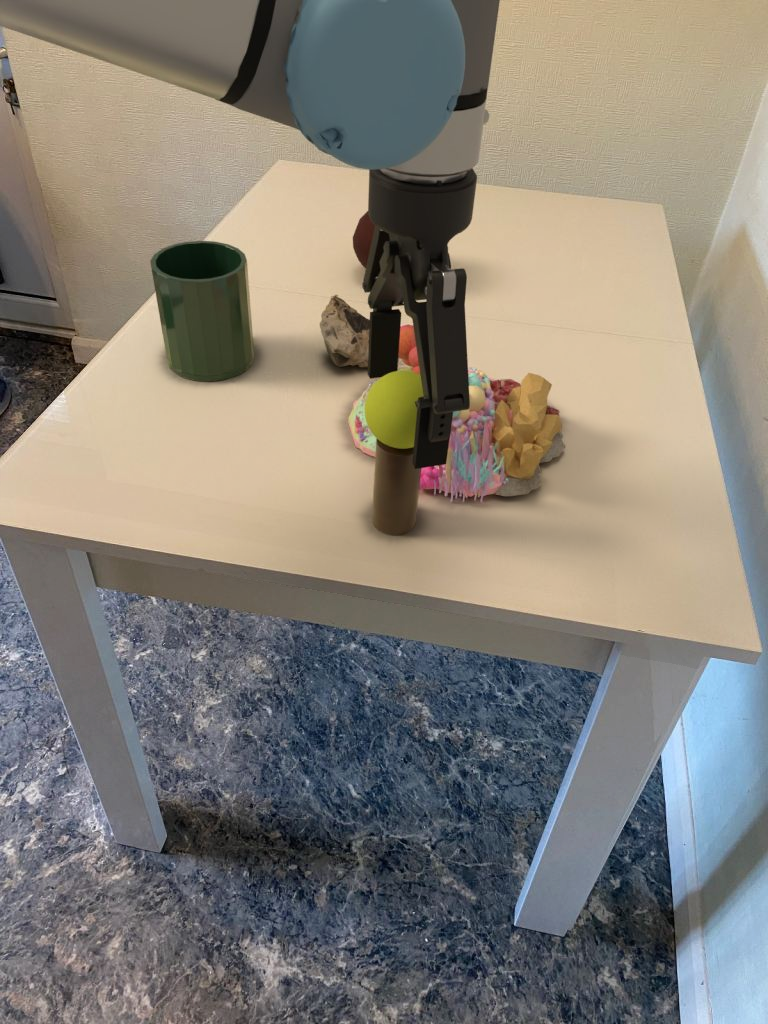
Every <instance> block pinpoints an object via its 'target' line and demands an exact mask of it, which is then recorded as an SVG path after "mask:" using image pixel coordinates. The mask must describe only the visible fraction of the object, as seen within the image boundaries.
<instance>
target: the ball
mask: <svg viewBox="0 0 768 1024" xmlns="http://www.w3.org/2000/svg"><path fill="white" fill-rule="evenodd" d="M378 379H379V378H378ZM378 379H376V380H377V381H376V382H375V384H374V385H373V386H372V387H371V389H370V390H369V392H368V395H367V397H366V401H365V408H364V410H365V419H366V422H367V425H368V427H369V429H370V431H371V432H372V433H373V435H374V436H375V437H376V438H377V439H378V440H379V441H381V442H382V443H384V444H386V445H388V446H390V447H394V448H400V449H406V448H412V447H414V439H415V428H416V417H417V407H416V405H415V401H418V397H424V396H423V389H422V382H421V375H420V374H418V373H415V372H412V371H395V372H391V373H389V374H386V375H384V376H383V377H380V379H379V380H378Z"/></svg>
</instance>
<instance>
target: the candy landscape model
mask: <svg viewBox="0 0 768 1024" xmlns="http://www.w3.org/2000/svg"><path fill="white" fill-rule="evenodd" d="M398 359H400V360H401V361H403V364H404V365H405V366H406V367H402V368H399V369H398V371H412V372H415V373H418V374H420V368H419V361H418V355H417V348H416V341H415V334H414V327H413V324H405V325H401V327H400V341H399V356H398ZM407 366H408V367H407ZM380 378H381V377H380ZM380 378H377V379H375V380H372V382H370V383H369V384H368V386H367V387H366V389H365V390H363V391H362V394H361V395H360V396H359V398H358V399H355V401H354V402H353V403H352V410H351V411H350V415H348V418H347V421H348V427H349V430H350V433H351V437H352V439H353V443H354V445H355V447H356V448H357V449H359V450H361V452H362V453H363V454H366V455H368V456H371V457H373V458H375V456H376V439H377V438H376V437H375V436H374V435H373V433H372V432H371V431H370V429H369V427H368V425H367V422H366V419H365V410H364V408H365V401H366V397H367V395H368V392H369V390H370V389H371V387H372V386H373V385H374V384H375V382H376V381H377V380H379V379H380ZM468 379H469V399H470V407H469V409H468V410H462V411H455V412H453V417H452V424H451V432H450V439H449V446H448V454H447V461H446V464H444V465H438V466H432V467H425V468H422V470H421V479H420V488H419V491H420V490H421V491H422V490H434V492H433V496H436V495H437V493H436V492H437V490H438V493H439V494H441V493H442V492H444V496H445V497H448V495H449V494H450V503H453V501H454V499H456V500H457V499H458V496H459V497H462V503H464V502H465V498H466V499H468V497H473V496H474V499H473V501H476V500H477V497H478V498H480V503H483V499H484V497H486V496H488V495H497V496H502V497H514V496H515V497H516V496H523V495H529V494H530V492H531V491H532V490H537V489H539V487H540V486H541V485H542V484H543V481H542V478H541V477H540V474H541V473H542V471H543V470H542V468H541V466H540V463H548V462H551V461H552V460H553V458H557V457H559V456H560V455H561V453H563V450H564V449H565V448H566V444H565V443H564V441H563V438H564V435H563V432H562V429H563V423H562V420H561V418H560V409H558V408H556V407H553V406H550V405H548V396H549V394H550V391H551V389H552V386H553V384H552V383H551V382H550V381H549V380H547V379H546V378H545V377H544V376H541V375H539V374H537V373H536V374H535V373H533V372H532V373H531V372H528V373H526V375H525V376H524V377H523V378H522V380H521V382H517V381H515V380H514V379H511V378H505V379H504V378H503V379H493V378H491V377H488V376H487V374H486V373H485V372H484V371H482V370H480V369H477V368H476V367H470V366H468ZM458 493H459V494H458ZM454 497H455V498H454Z"/></svg>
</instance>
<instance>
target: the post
mask: <svg viewBox="0 0 768 1024" xmlns="http://www.w3.org/2000/svg"><path fill="white" fill-rule="evenodd" d="M413 450H414V447H412V448H406V449H400V448H394V447H390V446H388V445H386V444H384V443H382V442H381V441H379V440H378V439H376V456H375V457H374V473H373V475H374V476H373V492H372V493H373V494H372V508H371V509H372V512H371V521H372V524H373V526H374V527H375V528H376V530H378V531H379V532H381V533H383V534H386V535H391V536H401V535H404V534H407V533H409V532H410V531H412V530H413V529H414V527H415V526H416V522H417V513H418V505H419V497H420V489H419V488H420V479H421V470H422V468H419V469H415V468H414V466H413V464H412V460H413Z"/></svg>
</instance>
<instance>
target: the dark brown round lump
mask: <svg viewBox="0 0 768 1024" xmlns="http://www.w3.org/2000/svg"><path fill="white" fill-rule="evenodd" d="M374 229H375V225H374V224H373V222H372V221H371V219H370V217H369V214H368V210H367V211H365V213H364V214H363V215H362V216H361V217H360V218H359V219H358V222H357V225H356V227H355V230H354V233H353V235H352V249H353V251H354V254H355V256H356V258H357V260H358V262H359V263H360V264H361V265H362V267H363V268H364V269H365V270H366V266H367V261H368V257H369V252H370V247H371V243H372V238H373V234H374Z"/></svg>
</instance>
